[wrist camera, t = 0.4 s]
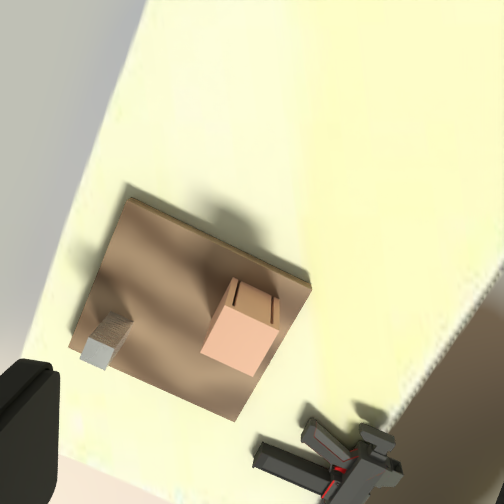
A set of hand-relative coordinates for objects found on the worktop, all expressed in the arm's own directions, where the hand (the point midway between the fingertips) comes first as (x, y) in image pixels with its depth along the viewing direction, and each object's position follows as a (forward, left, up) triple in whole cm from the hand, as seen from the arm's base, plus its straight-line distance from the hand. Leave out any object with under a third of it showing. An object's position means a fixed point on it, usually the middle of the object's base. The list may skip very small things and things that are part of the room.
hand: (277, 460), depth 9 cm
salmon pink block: (+12, +2, -33) cm, 35 cm away
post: (+20, -9, -34) cm, 41 cm away
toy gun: (+28, +19, -35) cm, 49 cm away
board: (+16, -3, -34) cm, 38 cm away
